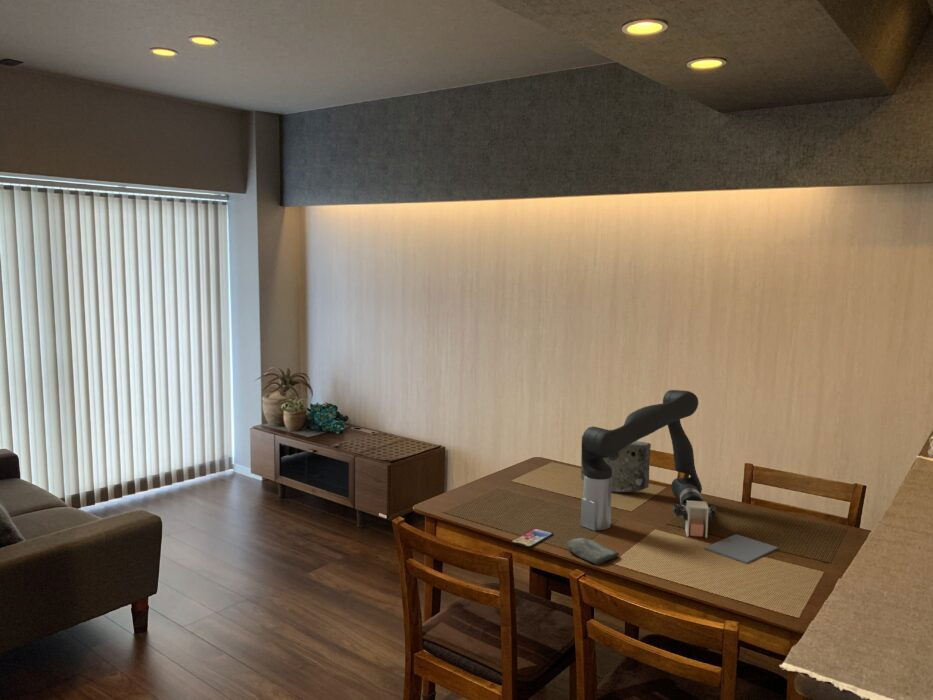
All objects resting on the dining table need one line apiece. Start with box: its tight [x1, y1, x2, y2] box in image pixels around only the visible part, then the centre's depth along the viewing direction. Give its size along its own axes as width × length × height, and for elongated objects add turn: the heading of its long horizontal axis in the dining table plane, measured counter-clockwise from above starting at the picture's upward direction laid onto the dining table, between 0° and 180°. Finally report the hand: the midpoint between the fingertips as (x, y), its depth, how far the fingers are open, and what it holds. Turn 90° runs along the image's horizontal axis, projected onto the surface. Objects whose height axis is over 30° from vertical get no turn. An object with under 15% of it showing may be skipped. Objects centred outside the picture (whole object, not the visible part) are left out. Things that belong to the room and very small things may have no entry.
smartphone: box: [511, 528, 554, 549], centre depth 232 cm, size 7×1×15 cm
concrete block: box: [580, 435, 652, 493], centre depth 281 cm, size 27×9×20 cm, turn 55°
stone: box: [566, 537, 620, 566], centre depth 220 cm, size 11×4×15 cm
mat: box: [704, 533, 779, 565], centre depth 224 cm, size 18×14×1 cm
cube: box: [689, 520, 704, 537], centre depth 237 cm, size 4×4×4 cm
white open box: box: [684, 500, 710, 539], centre depth 236 cm, size 6×6×10 cm
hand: (697, 518), depth 234 cm, fingers closed on white open box, 6 cm apart
